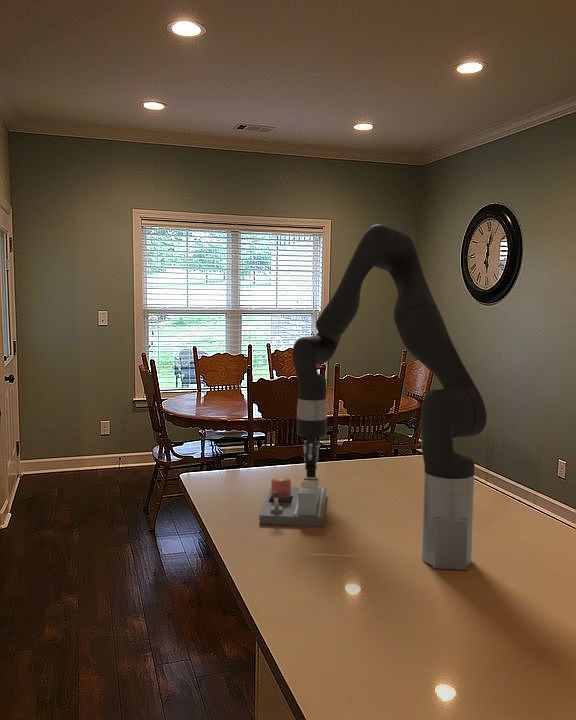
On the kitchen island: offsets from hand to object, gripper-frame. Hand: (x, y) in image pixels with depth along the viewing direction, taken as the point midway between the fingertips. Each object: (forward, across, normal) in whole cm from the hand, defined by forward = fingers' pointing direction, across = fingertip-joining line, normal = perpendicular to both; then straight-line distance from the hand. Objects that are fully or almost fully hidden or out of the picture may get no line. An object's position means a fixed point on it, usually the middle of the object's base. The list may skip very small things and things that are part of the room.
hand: (311, 484), depth 162 cm
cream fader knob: (+1, -9, 0) cm, 9 cm away
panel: (+3, -10, +3) cm, 11 cm away
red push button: (+1, -9, +7) cm, 11 cm away
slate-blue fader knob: (+1, -18, 0) cm, 18 cm away
